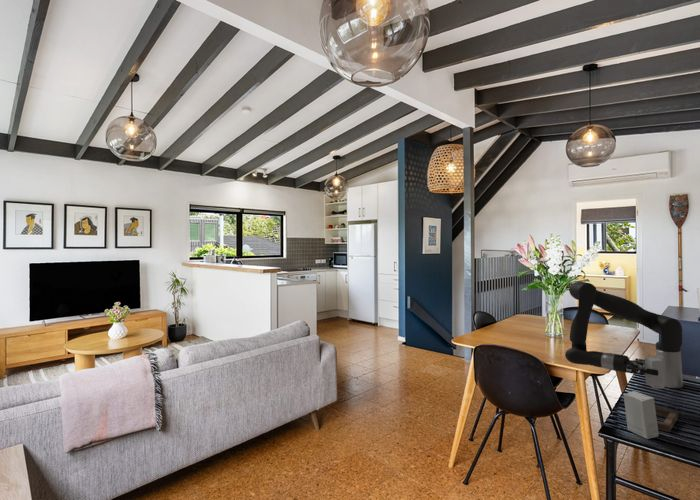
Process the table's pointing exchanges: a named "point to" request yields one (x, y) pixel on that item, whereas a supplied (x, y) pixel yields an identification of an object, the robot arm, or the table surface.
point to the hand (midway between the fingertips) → (660, 370)
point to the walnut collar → (670, 419)
